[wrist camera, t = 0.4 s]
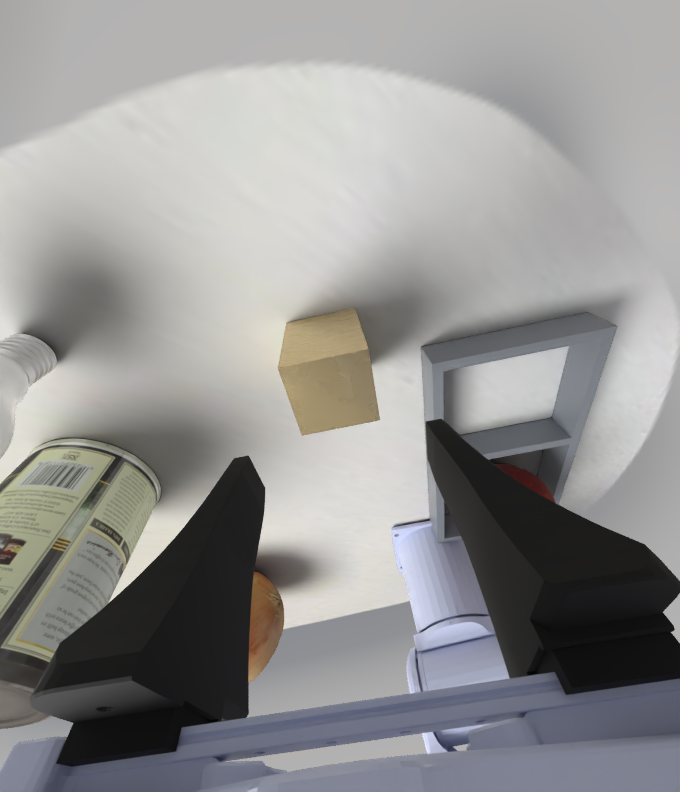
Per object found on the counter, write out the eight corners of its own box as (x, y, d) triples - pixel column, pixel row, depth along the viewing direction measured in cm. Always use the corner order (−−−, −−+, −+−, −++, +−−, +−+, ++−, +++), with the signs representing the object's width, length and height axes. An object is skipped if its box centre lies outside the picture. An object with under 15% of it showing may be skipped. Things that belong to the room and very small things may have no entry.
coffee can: (83, 526, 30) (-61, 742, 19) (-5, 452, 24) (-296, 697, 13) (184, 506, 30) (100, 716, 18) (118, 425, 24) (-70, 657, 12)
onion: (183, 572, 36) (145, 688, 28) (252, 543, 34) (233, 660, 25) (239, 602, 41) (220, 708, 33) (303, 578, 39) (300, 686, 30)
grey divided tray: (537, 502, 33) (552, 523, 31) (429, 521, 34) (437, 543, 32) (587, 312, 21) (617, 325, 19) (420, 347, 22) (432, 364, 20)
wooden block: (365, 367, 22) (379, 420, 18) (304, 380, 23) (302, 435, 18) (355, 307, 20) (368, 348, 15) (286, 322, 20) (277, 368, 15)
